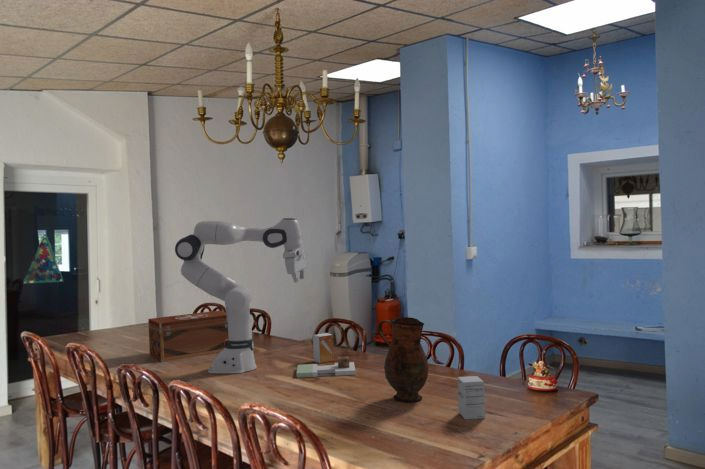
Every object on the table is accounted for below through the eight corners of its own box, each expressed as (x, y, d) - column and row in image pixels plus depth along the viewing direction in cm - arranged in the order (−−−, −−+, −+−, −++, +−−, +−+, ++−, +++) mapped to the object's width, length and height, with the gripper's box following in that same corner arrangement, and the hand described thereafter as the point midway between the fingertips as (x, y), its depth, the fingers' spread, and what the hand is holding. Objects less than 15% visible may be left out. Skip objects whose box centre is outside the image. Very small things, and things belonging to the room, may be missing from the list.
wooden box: (235, 350, 330) (234, 314, 329) (160, 362, 306) (159, 323, 306) (220, 345, 347) (219, 310, 346) (149, 356, 323) (147, 318, 323)
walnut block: (338, 368, 271) (337, 359, 271) (338, 365, 276) (337, 356, 276) (349, 367, 271) (349, 358, 271) (348, 365, 276) (348, 356, 276)
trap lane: (296, 377, 265) (296, 373, 265) (298, 369, 281) (297, 364, 281) (355, 374, 266) (355, 370, 266) (353, 366, 282) (353, 362, 282)
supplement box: (458, 413, 208) (456, 376, 208) (479, 411, 209) (477, 375, 209) (463, 419, 201) (462, 382, 201) (485, 418, 201) (484, 380, 201)
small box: (320, 363, 290) (318, 336, 290) (313, 361, 296) (312, 334, 295) (334, 360, 295) (333, 334, 295) (327, 358, 300) (326, 332, 300)
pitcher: (413, 408, 216) (410, 324, 215) (367, 398, 230) (364, 319, 229) (439, 396, 228) (436, 317, 227) (394, 388, 242) (391, 313, 242)
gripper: (295, 249, 295) (299, 277, 296) (281, 255, 275) (286, 285, 276) (307, 248, 294) (311, 276, 295) (294, 253, 274) (299, 283, 275)
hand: (299, 280), depth 285 cm, fingers open, 8 cm apart
